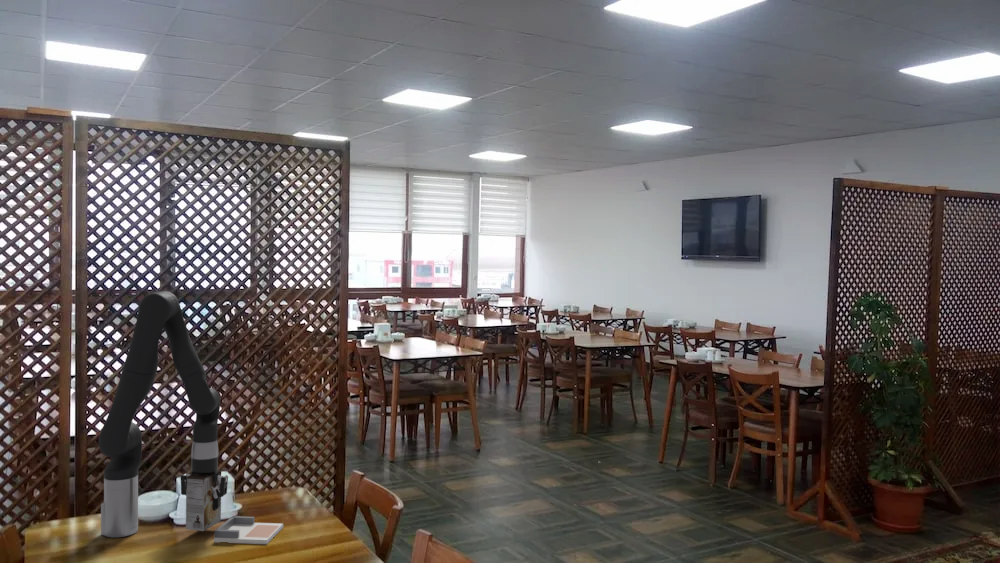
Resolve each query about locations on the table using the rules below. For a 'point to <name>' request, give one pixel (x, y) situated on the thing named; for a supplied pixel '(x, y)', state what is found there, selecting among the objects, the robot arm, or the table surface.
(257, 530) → the slide dock
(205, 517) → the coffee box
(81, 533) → the table surface
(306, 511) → the table surface
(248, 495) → the table surface
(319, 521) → the table surface
